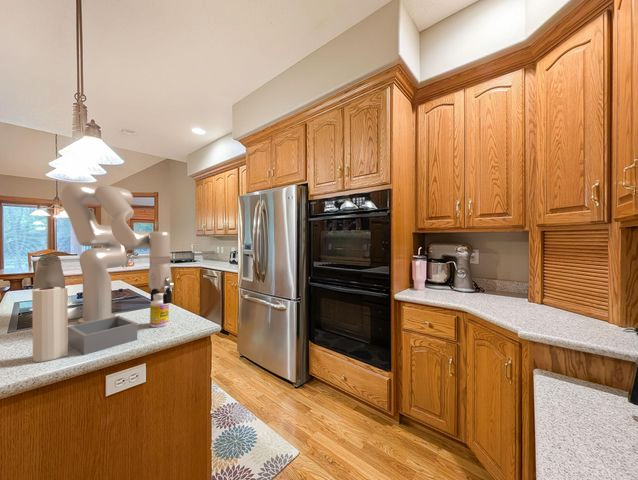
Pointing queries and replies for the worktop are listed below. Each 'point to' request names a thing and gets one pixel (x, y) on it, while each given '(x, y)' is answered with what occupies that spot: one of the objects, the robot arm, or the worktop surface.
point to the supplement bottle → (159, 311)
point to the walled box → (101, 334)
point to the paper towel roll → (50, 323)
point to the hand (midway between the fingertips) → (161, 301)
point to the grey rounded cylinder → (49, 273)
